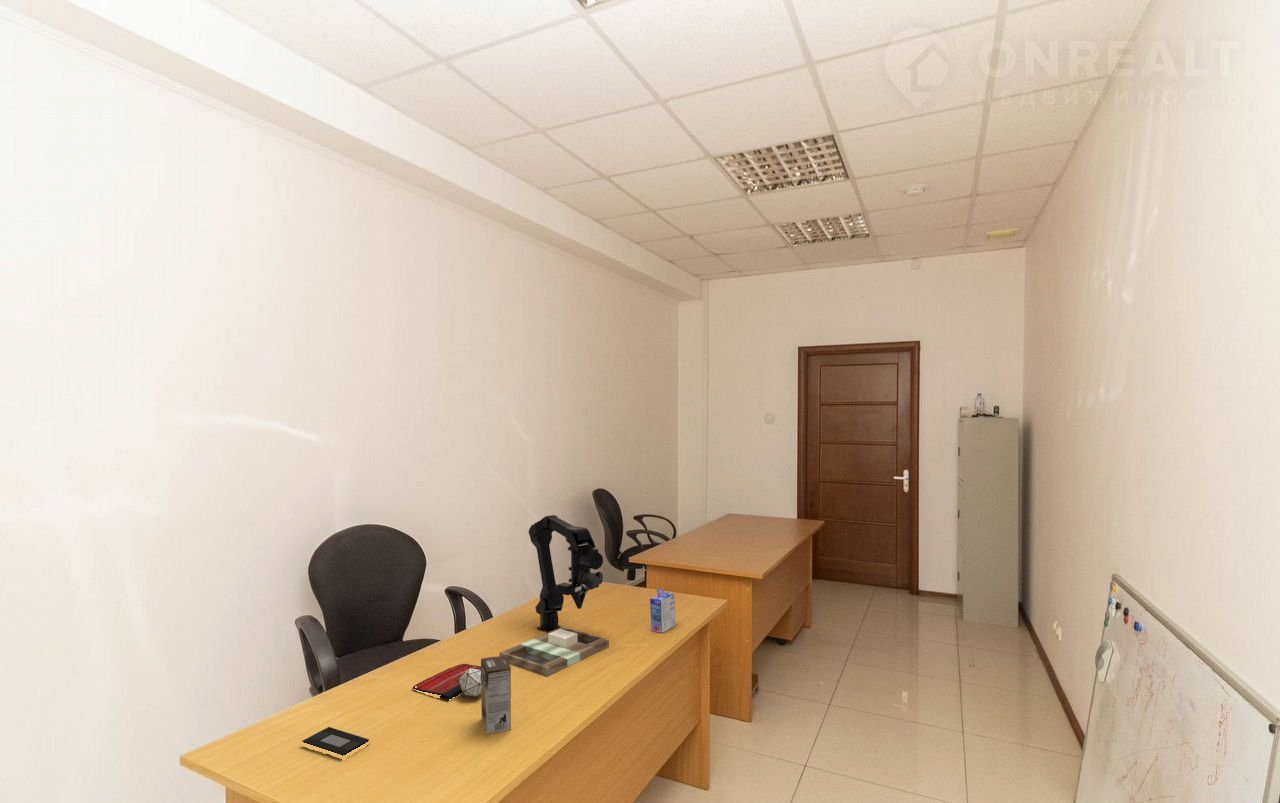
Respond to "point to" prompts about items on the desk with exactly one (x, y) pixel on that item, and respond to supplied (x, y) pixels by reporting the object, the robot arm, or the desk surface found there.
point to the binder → (445, 681)
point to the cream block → (562, 638)
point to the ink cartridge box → (662, 611)
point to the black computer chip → (336, 741)
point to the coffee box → (496, 694)
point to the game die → (471, 682)
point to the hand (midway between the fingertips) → (579, 608)
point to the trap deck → (553, 652)
